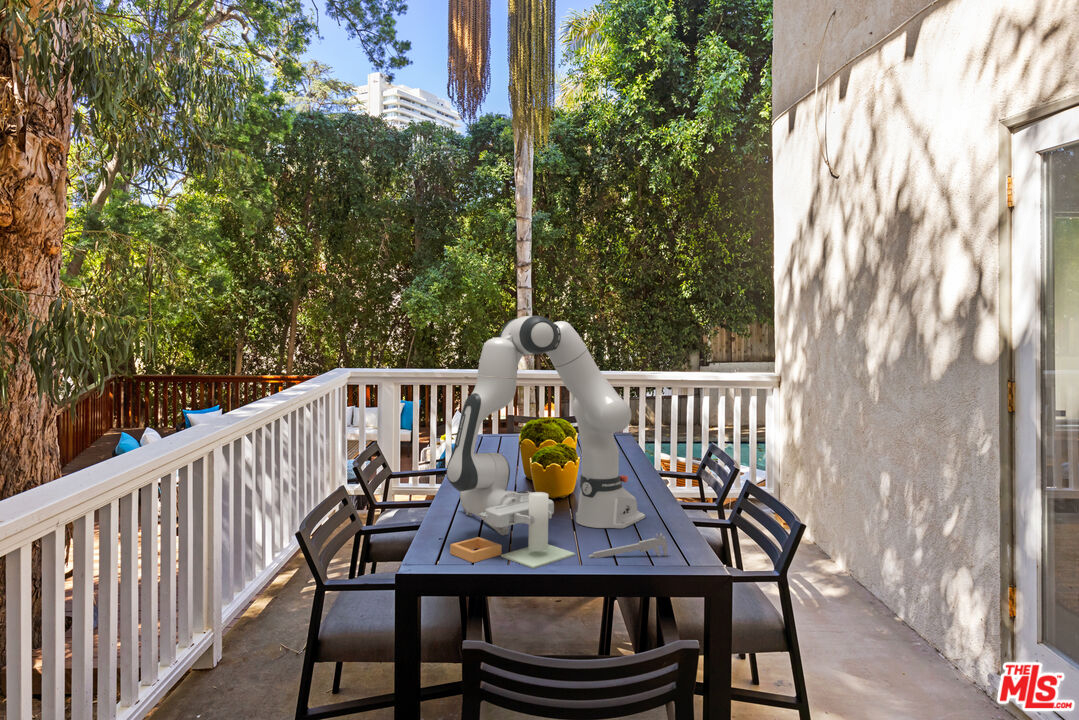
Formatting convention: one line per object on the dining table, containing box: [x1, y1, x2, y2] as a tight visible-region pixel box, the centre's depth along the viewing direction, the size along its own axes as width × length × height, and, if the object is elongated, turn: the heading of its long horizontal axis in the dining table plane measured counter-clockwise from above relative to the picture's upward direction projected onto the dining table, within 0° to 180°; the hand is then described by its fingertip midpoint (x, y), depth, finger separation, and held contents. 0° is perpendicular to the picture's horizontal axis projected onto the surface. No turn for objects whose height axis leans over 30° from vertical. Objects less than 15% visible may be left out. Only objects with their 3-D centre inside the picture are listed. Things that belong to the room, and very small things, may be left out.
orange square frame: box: [449, 536, 502, 564], centre depth 188 cm, size 9×9×2 cm
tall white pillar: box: [527, 491, 549, 551], centre depth 186 cm, size 5×5×14 cm
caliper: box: [588, 532, 668, 559], centre depth 187 cm, size 20×1×6 cm, turn 95°
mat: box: [500, 543, 576, 570], centre depth 187 cm, size 15×12×1 cm
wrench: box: [458, 491, 510, 536], centre depth 217 cm, size 8×2×30 cm
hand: (540, 518), depth 186 cm, fingers closed on tall white pillar, 5 cm apart
